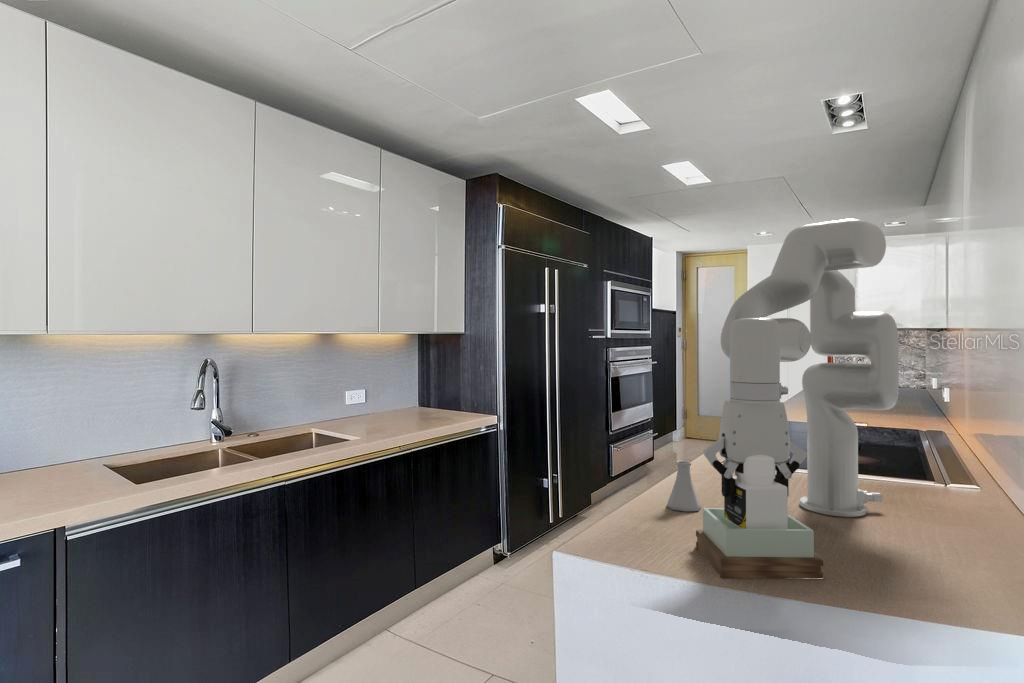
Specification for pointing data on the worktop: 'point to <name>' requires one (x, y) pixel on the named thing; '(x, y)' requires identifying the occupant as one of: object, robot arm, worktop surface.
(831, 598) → the worktop surface
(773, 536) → the sage crate
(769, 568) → the brown wooden flat block
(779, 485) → the medicine bottle
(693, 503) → the flask
